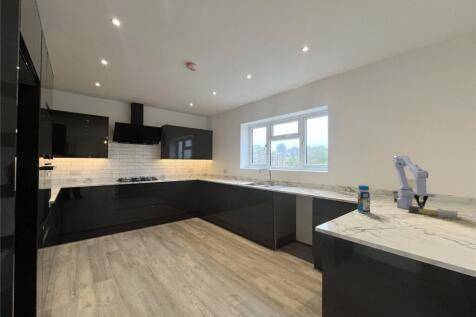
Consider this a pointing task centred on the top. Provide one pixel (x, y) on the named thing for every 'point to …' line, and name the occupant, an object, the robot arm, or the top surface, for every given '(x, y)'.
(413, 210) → the socket
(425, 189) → the robot arm
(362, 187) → the beverage bottle
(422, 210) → the inner sliding bolt
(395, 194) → the food container
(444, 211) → the sleeve
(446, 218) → the base board
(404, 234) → the top surface
